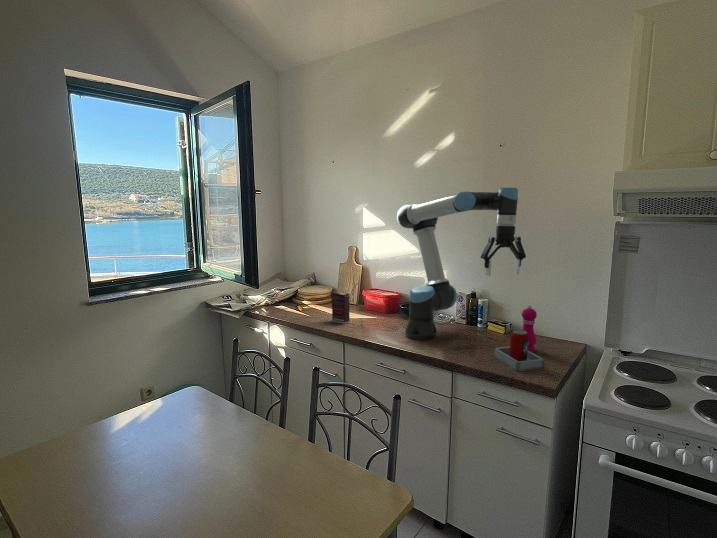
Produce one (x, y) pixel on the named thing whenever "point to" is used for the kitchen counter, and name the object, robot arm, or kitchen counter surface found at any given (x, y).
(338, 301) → the supplement box
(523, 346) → the beverage can
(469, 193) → the robot arm
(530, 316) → the pepper mill
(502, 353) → the tray
